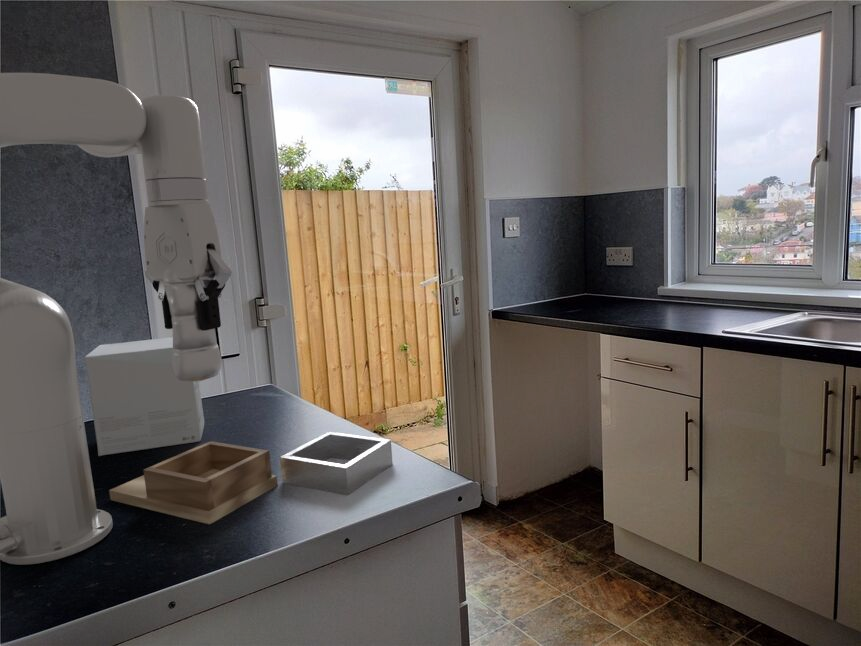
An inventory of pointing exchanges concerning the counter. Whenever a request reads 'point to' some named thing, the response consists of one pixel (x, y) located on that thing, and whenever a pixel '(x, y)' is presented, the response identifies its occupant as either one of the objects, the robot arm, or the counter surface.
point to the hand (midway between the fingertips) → (192, 326)
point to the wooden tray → (201, 482)
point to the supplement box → (141, 398)
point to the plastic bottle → (190, 332)
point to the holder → (315, 473)
